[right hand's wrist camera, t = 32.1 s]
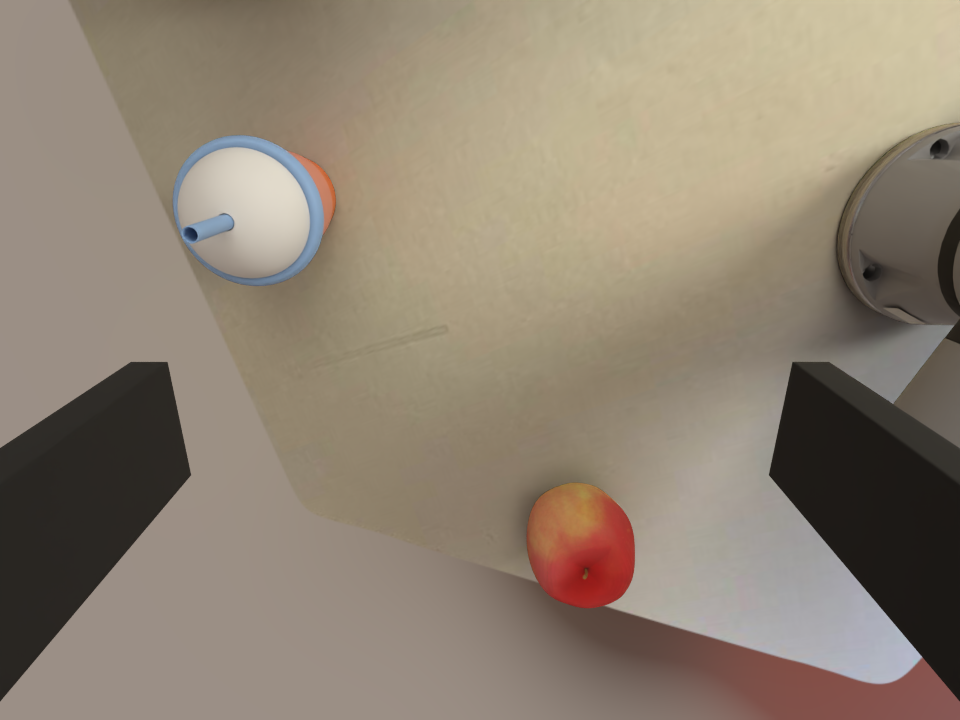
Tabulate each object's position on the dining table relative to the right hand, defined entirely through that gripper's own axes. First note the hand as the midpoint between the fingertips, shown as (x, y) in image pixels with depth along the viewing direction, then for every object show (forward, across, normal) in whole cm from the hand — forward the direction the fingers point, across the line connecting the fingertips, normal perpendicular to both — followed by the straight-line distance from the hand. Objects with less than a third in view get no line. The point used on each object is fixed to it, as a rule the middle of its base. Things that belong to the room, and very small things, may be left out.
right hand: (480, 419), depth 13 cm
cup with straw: (+36, -14, +1) cm, 39 cm away
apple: (+36, +9, -28) cm, 46 cm away
